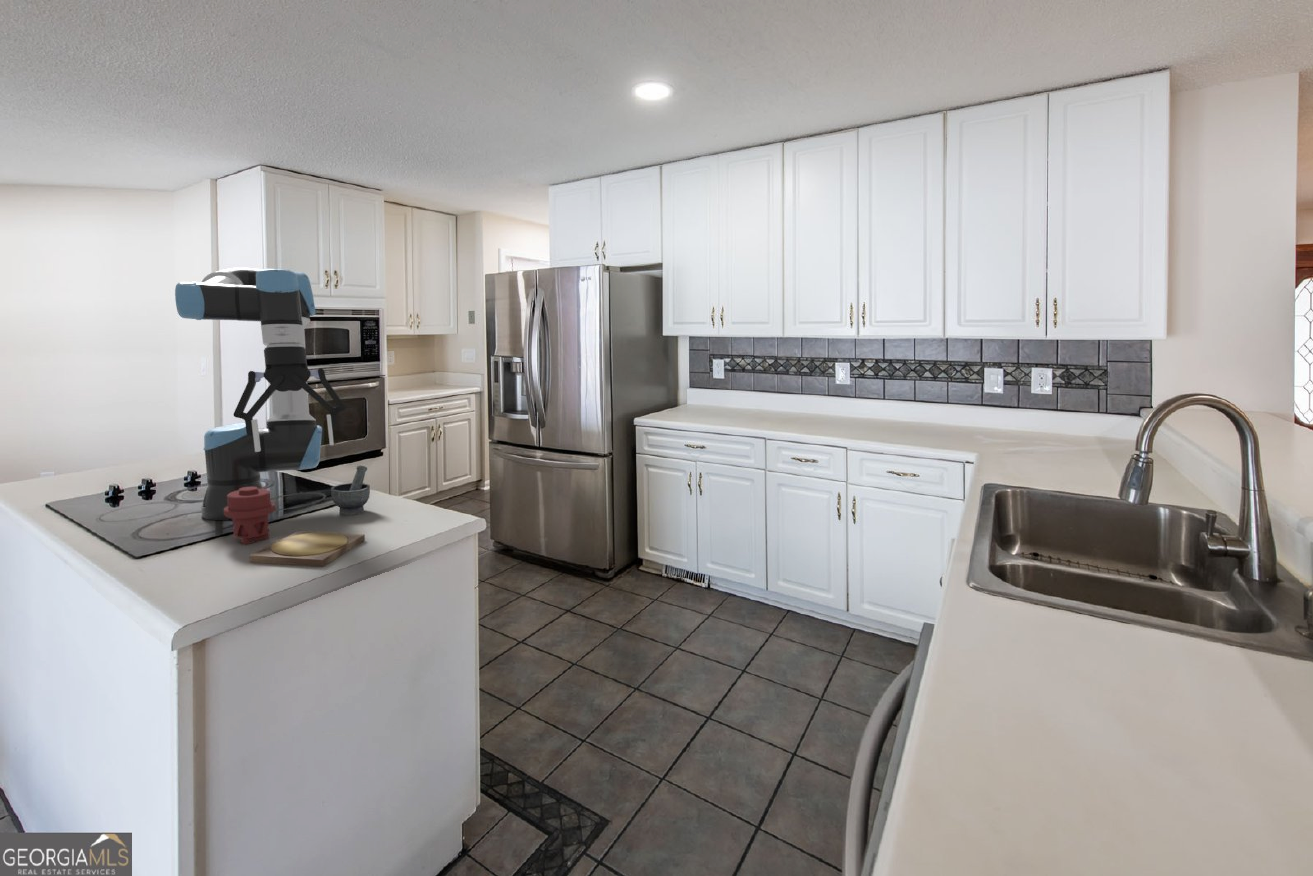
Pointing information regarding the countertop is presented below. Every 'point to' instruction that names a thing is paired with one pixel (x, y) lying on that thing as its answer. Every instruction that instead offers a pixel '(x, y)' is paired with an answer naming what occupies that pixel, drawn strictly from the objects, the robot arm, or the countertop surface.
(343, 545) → the marked board
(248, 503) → the mechanical component
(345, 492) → the mortar and pestle
